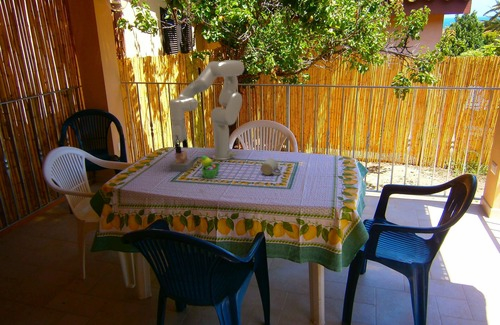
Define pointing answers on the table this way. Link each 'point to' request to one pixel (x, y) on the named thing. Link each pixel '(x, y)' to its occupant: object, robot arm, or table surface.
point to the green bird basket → (209, 167)
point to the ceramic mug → (270, 167)
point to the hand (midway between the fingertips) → (182, 150)
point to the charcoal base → (181, 166)
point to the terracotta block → (181, 157)
